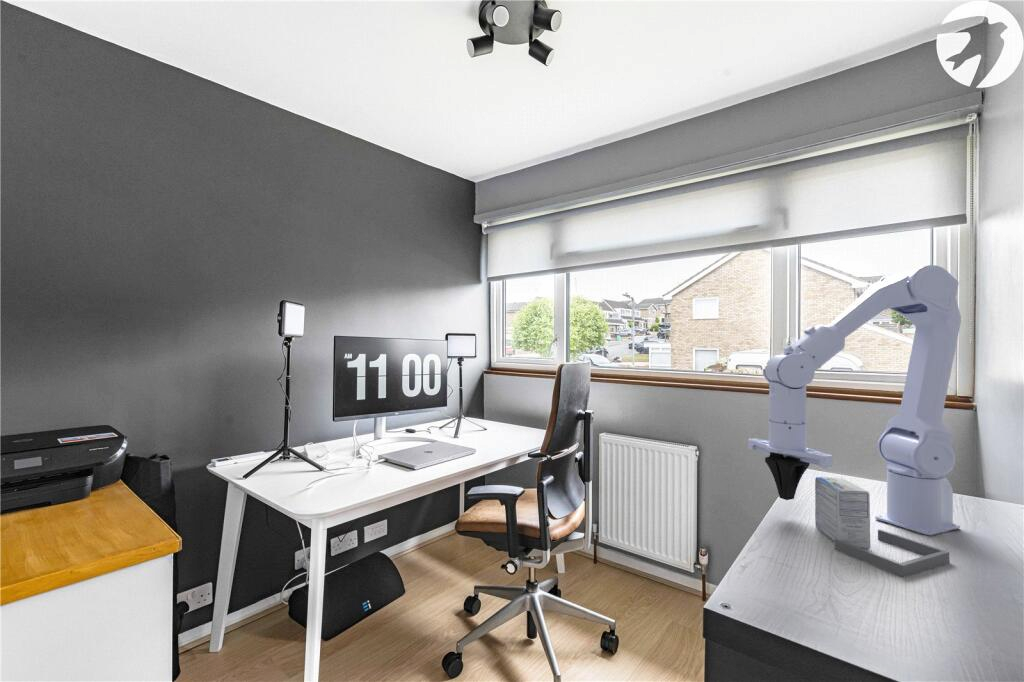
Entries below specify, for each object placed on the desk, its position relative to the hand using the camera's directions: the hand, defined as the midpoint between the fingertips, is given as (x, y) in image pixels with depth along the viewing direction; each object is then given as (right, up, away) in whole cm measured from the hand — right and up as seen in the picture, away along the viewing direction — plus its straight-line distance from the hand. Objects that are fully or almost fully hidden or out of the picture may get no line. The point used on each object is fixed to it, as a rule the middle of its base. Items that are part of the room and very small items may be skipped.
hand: (786, 498), depth 81 cm
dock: (+6, -3, -14) cm, 16 cm away
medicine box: (+4, -4, -8) cm, 10 cm away
